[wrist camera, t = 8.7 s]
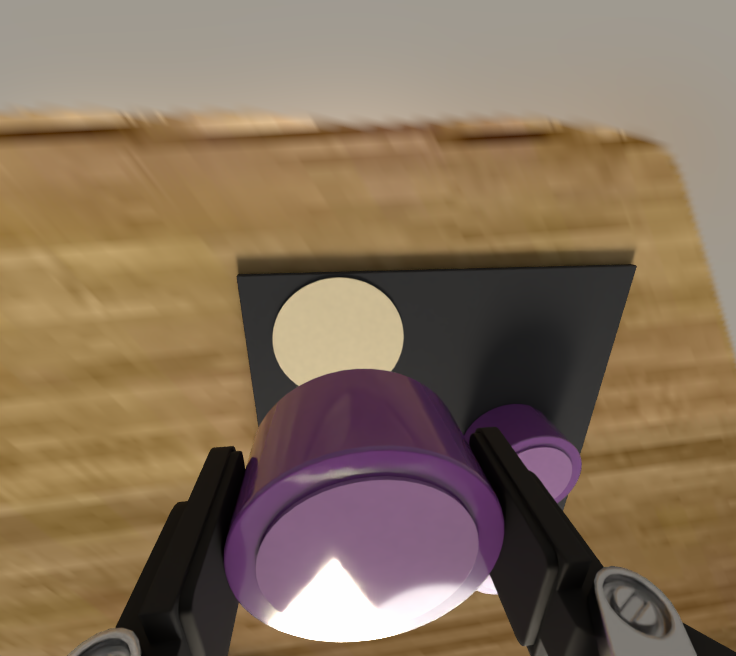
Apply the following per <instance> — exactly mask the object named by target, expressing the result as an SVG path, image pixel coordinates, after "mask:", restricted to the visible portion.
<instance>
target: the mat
mask: <svg viewBox="0 0 736 656" xmlns="http://www.w3.org/2000/svg"><path fill="white" fill-rule="evenodd" d="M636 267H637V266H636V265H632V264H627V265H587V266H548V267H508V268H468V269H429V270H389V271H350V272H310V273H271V274H238V275H237V283H238V290H239V297H240V303H241V310H242V317H243V324H244V331H245V338H246V345H247V351H248V358H249V365H250V372H251V379H252V386H253V393H254V399H255V406H256V413H257V420H258V427H259V426H260V424H261V422H262V421H263V419H264V418H265V416H266V415H267V413H268V412H269V411H270V410H271V409H272V407H273V406H274V405H275V404H276V403H277V402H278V401H279V400H281V399H282V398H283V397H284V396H285V395H286V394H288V393H289V392H291V391H292V390H294V389H295V388H297V387H298V386H300V385H302V384H304V383H306V382H308V381H310V380H312V379H314V378H317V377H320V376H322V375H325V374H328V373H333V372H337V371H341V370H349V369H379V370H387V371H391V372H395V373H399V374H402V375H404V376H407V377H409V378H412V379H414V380H416V381H418V382H420V383H422V384H423V385H425V386H426V387H428V388H429V389H430V390H432V391H433V392H434V393H436V395H437V396H438V397H439V398H440V399H441V400H442V401H443V402H444V403H445V405H446V406H447V408H448V409H449V410H450V412H451V414H452V416H453V417H454V419H455V421H456V423H457V425H458V426H459V428H460V430H461V432H462V434H463V436H464V434H465V432H466V431H467V429H468V428H469V427H470V425H471V424H472V423H473V422H474V421H475V420H476V419H477V418H479V417H480V416H481V415H483V414H484V413H486V412H488V411H490V410H492V409H494V408H497V407H499V406H503V405H508V404H525V405H529V406H532V407H534V408H536V409H538V410H539V411H541V412H542V413H543V414H544V415H545V416H546V417H547V418H548V419H549V420H550V421H551V422H552V423H553V424H554V425H555V426H556V427H557V428H558V429H559V430H560V431H561V432H562V433H563V434H564V435H565V437H566V438H567V439H568V440H569V441H570V442H571V443H572V444H573V445H574V446H575V447H576V448H577V450H578V452H579V454H580V453H581V449H582V446H583V443H584V439H585V436H586V433H587V430H588V426H589V423H590V420H591V416H592V413H593V410H594V406H595V403H596V400H597V396H598V393H599V390H600V386H601V383H602V380H603V376H604V373H605V370H606V366H607V363H608V360H609V356H610V353H611V350H612V346H613V343H614V340H615V337H616V333H617V330H618V327H619V323H620V320H621V317H622V313H623V310H624V307H625V303H626V300H627V297H628V293H629V290H630V287H631V283H632V280H633V277H634V273H635V270H636ZM567 496H568V495H567ZM567 496H566V497H565V498H564V499H562V500H561V501H560V502H559V503H557V504H558V505H559V507H560V508H561V509H562V511H563V509H564V506H565V503H566V499H567Z"/></svg>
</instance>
